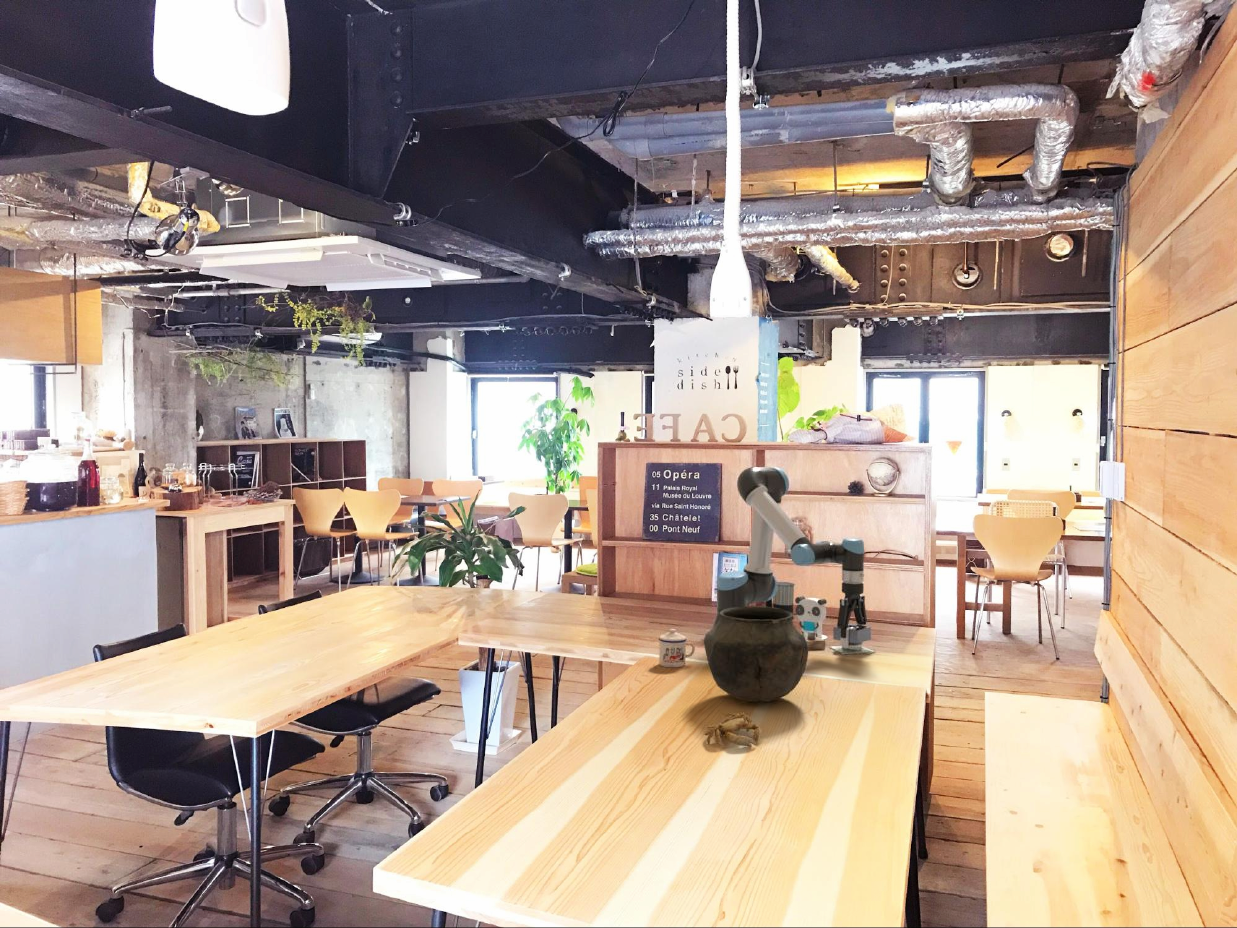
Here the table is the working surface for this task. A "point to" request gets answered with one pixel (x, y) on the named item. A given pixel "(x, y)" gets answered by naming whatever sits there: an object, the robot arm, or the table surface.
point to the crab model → (735, 725)
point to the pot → (756, 653)
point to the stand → (814, 641)
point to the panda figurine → (811, 615)
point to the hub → (852, 648)
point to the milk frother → (783, 597)
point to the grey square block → (854, 633)
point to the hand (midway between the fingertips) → (851, 644)
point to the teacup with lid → (673, 649)
